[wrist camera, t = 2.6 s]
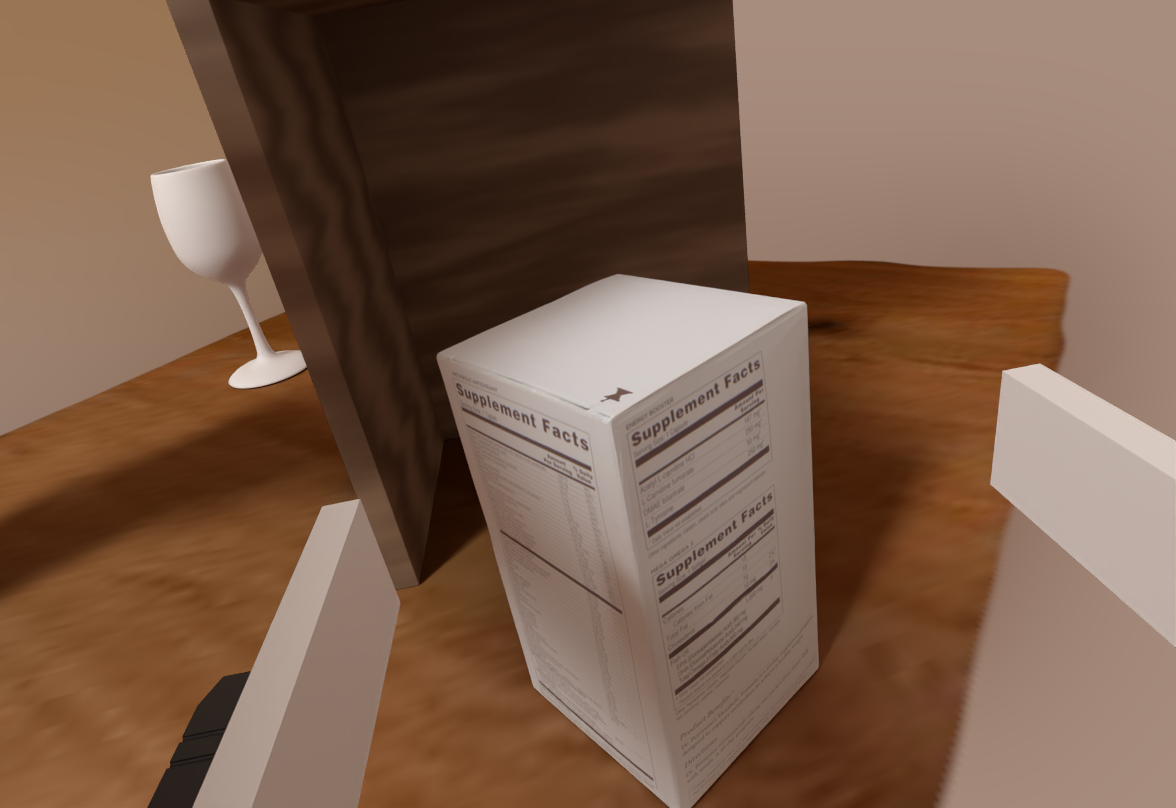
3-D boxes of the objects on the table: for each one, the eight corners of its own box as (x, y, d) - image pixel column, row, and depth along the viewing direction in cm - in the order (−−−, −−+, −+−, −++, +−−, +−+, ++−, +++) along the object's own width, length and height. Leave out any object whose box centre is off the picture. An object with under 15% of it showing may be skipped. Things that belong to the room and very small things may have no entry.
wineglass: (324, 348, 78) (252, 152, 68) (299, 381, 70) (214, 165, 60) (248, 361, 78) (166, 167, 68) (215, 395, 70) (117, 183, 61)
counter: (845, 502, 39) (851, -208, 25) (392, 590, 39) (135, -79, 25) (748, 373, 55) (719, -105, 41) (427, 434, 55) (283, -26, 41)
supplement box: (826, 668, 30) (824, 298, 22) (684, 827, 25) (617, 422, 17) (662, 574, 37) (617, 265, 29) (525, 684, 32) (427, 347, 24)
